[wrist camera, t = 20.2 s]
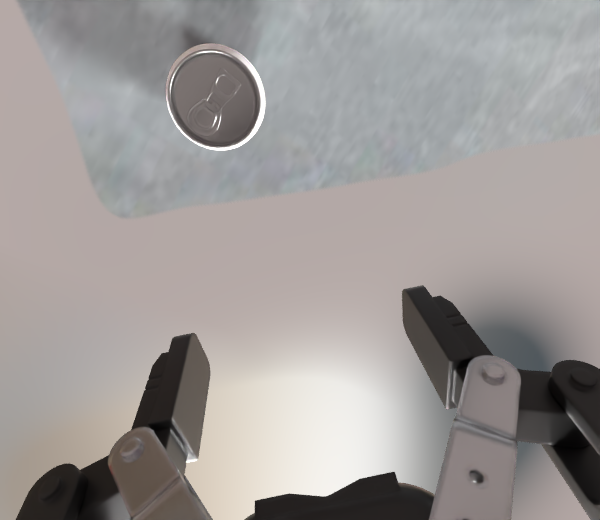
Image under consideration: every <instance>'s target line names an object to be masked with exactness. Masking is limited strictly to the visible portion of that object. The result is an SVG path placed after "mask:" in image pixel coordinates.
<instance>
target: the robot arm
mask: <svg viewBox="0 0 600 520" xmlns="http://www.w3.org/2000/svg"><path fill="white" fill-rule="evenodd" d="M402 306H403V324H404V328H405V331H406V334H407V336H408V338H409V340H410V342H411V344H412V346H413V347H414V349H415V351H416V353H417V355H418V357H419V359H420V361H421V363H422V365H423V366H424V368H425V370H426V372H427V374H428V376H429V378H430V380H431V382H432V383H433V385H434V387H435V389H436V391H437V393H438V395H439V396H440V398H441V400H442V402H443V404H444V406H445V408H446V409H451V408H456V407H457V413H456V417H455V419H454V420H453V423H452V427H451V431H450V435H449V439H448V443H447V447H446V451H445V455H444V460H443V464H442V468H441V472H440V476H439V480H438V484H437V489H436V493H435V495H434V494H433V493H431V492H429V491H427V490H425V489H423V488H420V487H417V486H414V485H410V484H406V483H398V481H397V478H396V475H395V472H391V473H386V474H381V475H376V476H372V477H367V478H362V479H359V480H357V481H355V482H353V483H352V484H350V485H348V486H346V487H344V488H342V489H340V490H339V491H337V492H335V493H333V494H331V495H329V496H326V497H320V496H310V495H299V494H285V495H281V496H276V497H271V498H267V499H261V500H257V501H255V513H254V514H252V515H250V516H249V517H247V518H246V519H245V520H511V513H512V502H513V490H514V480H515V469H516V457H517V441H521V442H529V443H538V444H542V446H543V448H544V449H545V451H546V452H547V454H548V455H549V457H550V458H551V460H552V461H553V463H554V464H555V466H556V467H557V469H558V471H559V472H560V474H561V475H562V477H563V478H564V480H565V481H566V483H567V484H568V486H569V487H570V489H571V490H572V492H573V493H574V495H575V496H576V498H577V500H578V501H579V503H580V504H581V506H582V507H583V509H584V510H585V512H586V513H587V515H588V516H589V518H590V519H591V520H600V369H598V368H597V367H595V366H593V365H590V364H588V363H585V362H581V361H576V360H566V361H561V362H559V363H557V364H555V366H554V367H553V369H552V372H543V371H528V370H520V369H516V368H515V367H514V366H513V365H512V364H511V363H509V362H508V361H506V360H504V359H502V358H499V357H495V356H493V354H492V353H491V352H490V351H489V349H488V348H487V347H486V345H485V344H484V343H483V342H482V340H481V339H480V338H479V336H478V335H477V334H476V333H475V331H474V330H473V329H472V328H471V326H470V325H469V324H467V321H466V320H465V319H464V317H463V316H462V315H461V314H460V312H459V311H458V310H457V308H456V307H455V306H454V304H453V303H451V302H450V301H448V300H447V299H445V298H443V297H442V296H437V297H432V296H431V295H430V293H429V292H428V291H427V289H426V288H425V287H424V286H417V287H413V288H408V289H404V290H403V291H402ZM209 380H210V365H209V362H208V359H207V357H206V354H205V352H204V350H203V348H202V346H201V344H200V342H199V340H198V338H197V336H196V334H195V333H191V334H186V335H181V336H176V337H174V338H173V339H172V342H171V345H170V349H169V352H167V353H162V354H161V355H160V357H159V358H158V359H157V361H156V362H155V363H154V365H153V366H152V369H151V373H150V375H149V380H148V381H147V384H146V387H145V389H146V390H145V391H144V393H143V396H142V399H141V402H140V406H139V408H138V411H137V414H136V418H135V420H134V423H133V426H132V429H131V431H129V432H127V433H126V434H124V435H123V436H122V437H121V438H120V439H119V440H118V441H117V442H116V443H115V445H114V446H113V448H112V449H111V451H110V454H109V455H108V456H106V457H105V458H103V459H101V460H99V461H97V462H95V463H93V464H91V465H89V466H87V467H85V468H83V469H81V470H79V469H78V468H77V467H76V466H75V465H73V464H62V465H59V466H57V467H55V468H53V469H51V470H50V471H48V472H47V473H46V474H44V475H43V476H42V477H41V478H40V479H39V480H38V481H37V482H36V483H35V484H34V486H33V487H32V488H31V490H30V491H29V493H28V495H27V497H26V499H25V501H24V503H23V505H22V507H21V510H20V512H19V514H18V516H17V518H16V520H213V519H212V518H211V516H210V514H209V513H208V511H207V510H206V508H205V507H204V505H203V503H202V502H201V500H200V499H199V497H198V495H197V494H196V492H195V491H194V489H193V488H192V486H191V484H190V483H189V481H188V480H187V478H186V476H185V475H184V473H185V468H186V463H188V462H192V461H197V460H198V456H199V449H200V442H201V436H202V428H203V422H204V415H205V408H206V401H207V394H208V387H209Z"/></svg>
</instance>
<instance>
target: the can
mask: <svg viewBox="0 0 600 520" xmlns="http://www.w3.org/2000/svg"><path fill="white" fill-rule="evenodd" d="M166 101H167V106H168V109H169V112H170V115H171V117H172V119H173V121H174V122H175V124H176V126H177V127H178V128H179V130H180V131H181V132H182V133H183V134H184V135H185V136H186V137H187V138H188V139H190V140H191V141H193V142H194V143H196V144H198V145H200V146H202V147H204V148H208V149H212V150H229V149H233V148H236V147H239V146H241V145H242V144H244V143H246V142H247V141H248V140H249V139H250V138H251V137H252V136H253V135H254V134H255V133H256V131H257V130H258V128H259V126H260V124H261V122H262V119H263V116H264V112H265V93H264V88H263V84H262V82H261V79H260V77H259V75H258V73H257V71H256V70H255V68H254V67H253V65H252V64H251V63H250V62H249V61H248V60H247V59H246V58H245V57H244V56H243V55H242V54H240V53H239V52H237V51H236V50H234V49H232V48H230V47H227V46H224V45H221V44H214V43H207V44H201V45H197V46H194V47H192V48H190V49H188V50H187V51H185V52H184V53H183V54H181V55H180V56H179V57H178V58H177V60H176V61H175V62H174V64H173V65H172V67H171V69H170V72H169V74H168V78H167V82H166Z"/></svg>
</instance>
